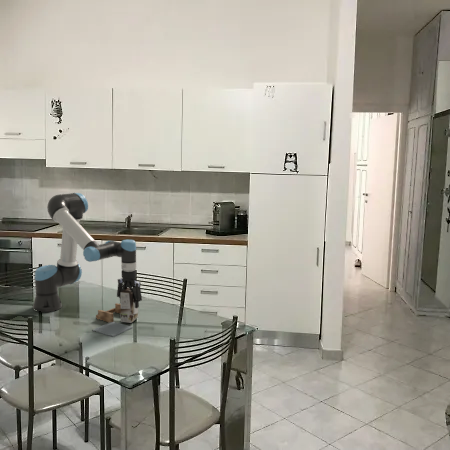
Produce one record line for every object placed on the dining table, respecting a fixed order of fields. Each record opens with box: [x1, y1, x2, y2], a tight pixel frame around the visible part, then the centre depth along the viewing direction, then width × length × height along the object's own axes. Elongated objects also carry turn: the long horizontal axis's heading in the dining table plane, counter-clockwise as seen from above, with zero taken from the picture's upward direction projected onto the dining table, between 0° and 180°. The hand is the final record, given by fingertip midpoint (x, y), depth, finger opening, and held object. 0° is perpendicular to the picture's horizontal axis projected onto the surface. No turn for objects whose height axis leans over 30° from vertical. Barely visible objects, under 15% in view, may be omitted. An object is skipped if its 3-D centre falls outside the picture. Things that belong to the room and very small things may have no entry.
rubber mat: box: [92, 321, 134, 338], centre depth 256 cm, size 14×14×1 cm
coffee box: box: [119, 288, 139, 324], centre depth 266 cm, size 9×6×16 cm
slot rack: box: [95, 303, 121, 323], centre depth 272 cm, size 12×14×5 cm
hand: (129, 311), depth 266 cm, fingers closed on coffee box, 8 cm apart
